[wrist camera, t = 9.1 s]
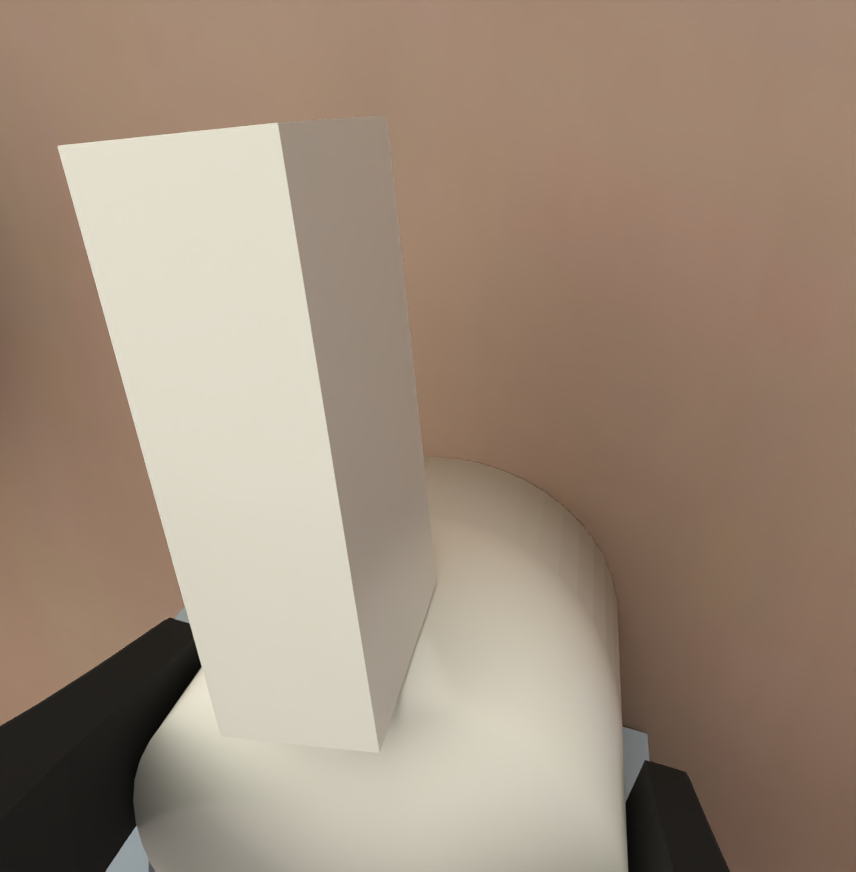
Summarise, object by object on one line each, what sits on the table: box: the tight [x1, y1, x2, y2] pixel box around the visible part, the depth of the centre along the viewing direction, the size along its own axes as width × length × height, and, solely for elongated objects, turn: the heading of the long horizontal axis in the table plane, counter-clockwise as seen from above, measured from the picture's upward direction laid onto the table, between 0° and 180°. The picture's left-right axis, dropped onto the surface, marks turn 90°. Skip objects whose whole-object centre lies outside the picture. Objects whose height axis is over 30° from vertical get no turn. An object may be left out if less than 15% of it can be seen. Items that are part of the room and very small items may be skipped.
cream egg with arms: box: [58, 115, 628, 872], centre depth 12 cm, size 17×7×7 cm, turn 5°
